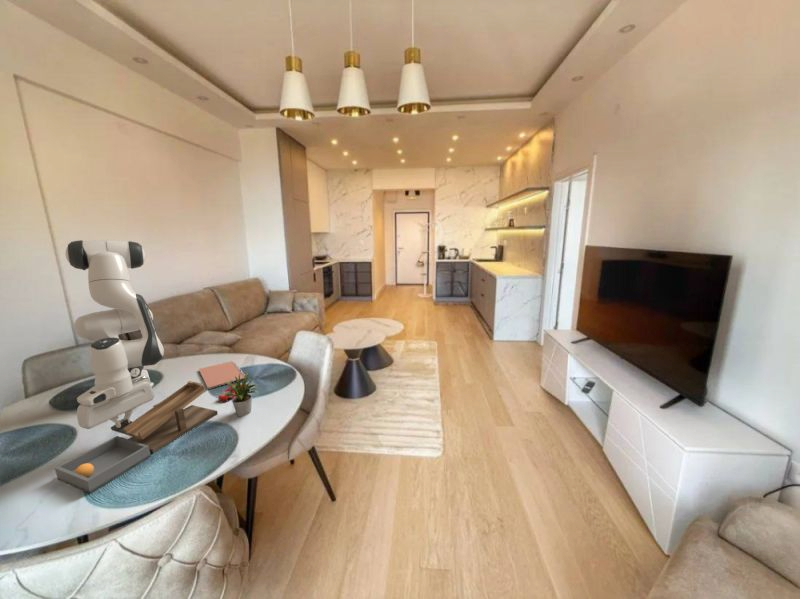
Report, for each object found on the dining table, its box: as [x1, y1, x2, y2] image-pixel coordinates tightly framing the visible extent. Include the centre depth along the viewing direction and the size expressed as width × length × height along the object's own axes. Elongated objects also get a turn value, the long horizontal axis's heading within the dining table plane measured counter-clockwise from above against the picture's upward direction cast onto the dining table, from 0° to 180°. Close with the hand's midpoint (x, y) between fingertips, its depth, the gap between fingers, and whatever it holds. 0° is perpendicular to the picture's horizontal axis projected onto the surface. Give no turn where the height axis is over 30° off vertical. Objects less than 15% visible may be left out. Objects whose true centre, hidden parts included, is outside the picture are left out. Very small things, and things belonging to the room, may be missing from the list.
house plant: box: [218, 371, 260, 417], centre depth 123 cm, size 14×14×16 cm
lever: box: [110, 380, 206, 440], centre depth 115 cm, size 16×24×4 cm, turn 160°
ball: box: [75, 463, 94, 477], centre depth 92 cm, size 4×4×4 cm
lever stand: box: [128, 402, 219, 454], centre depth 116 cm, size 14×24×9 cm, turn 160°
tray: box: [54, 435, 152, 495], centre depth 97 cm, size 16×16×4 cm
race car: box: [218, 382, 242, 403], centre depth 140 cm, size 13×5×4 cm, turn 157°
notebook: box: [198, 360, 246, 390], centre depth 160 cm, size 27×17×2 cm, turn 39°
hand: (123, 425), depth 107 cm, fingers closed
